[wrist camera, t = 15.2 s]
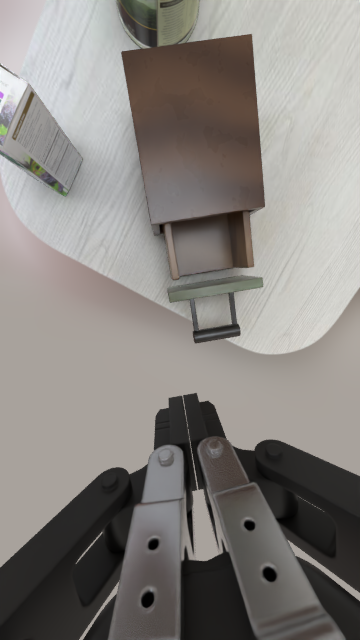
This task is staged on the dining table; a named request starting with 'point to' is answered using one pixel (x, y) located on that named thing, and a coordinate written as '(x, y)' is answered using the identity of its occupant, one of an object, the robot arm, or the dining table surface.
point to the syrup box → (34, 135)
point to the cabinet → (196, 128)
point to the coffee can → (158, 21)
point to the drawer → (210, 263)
